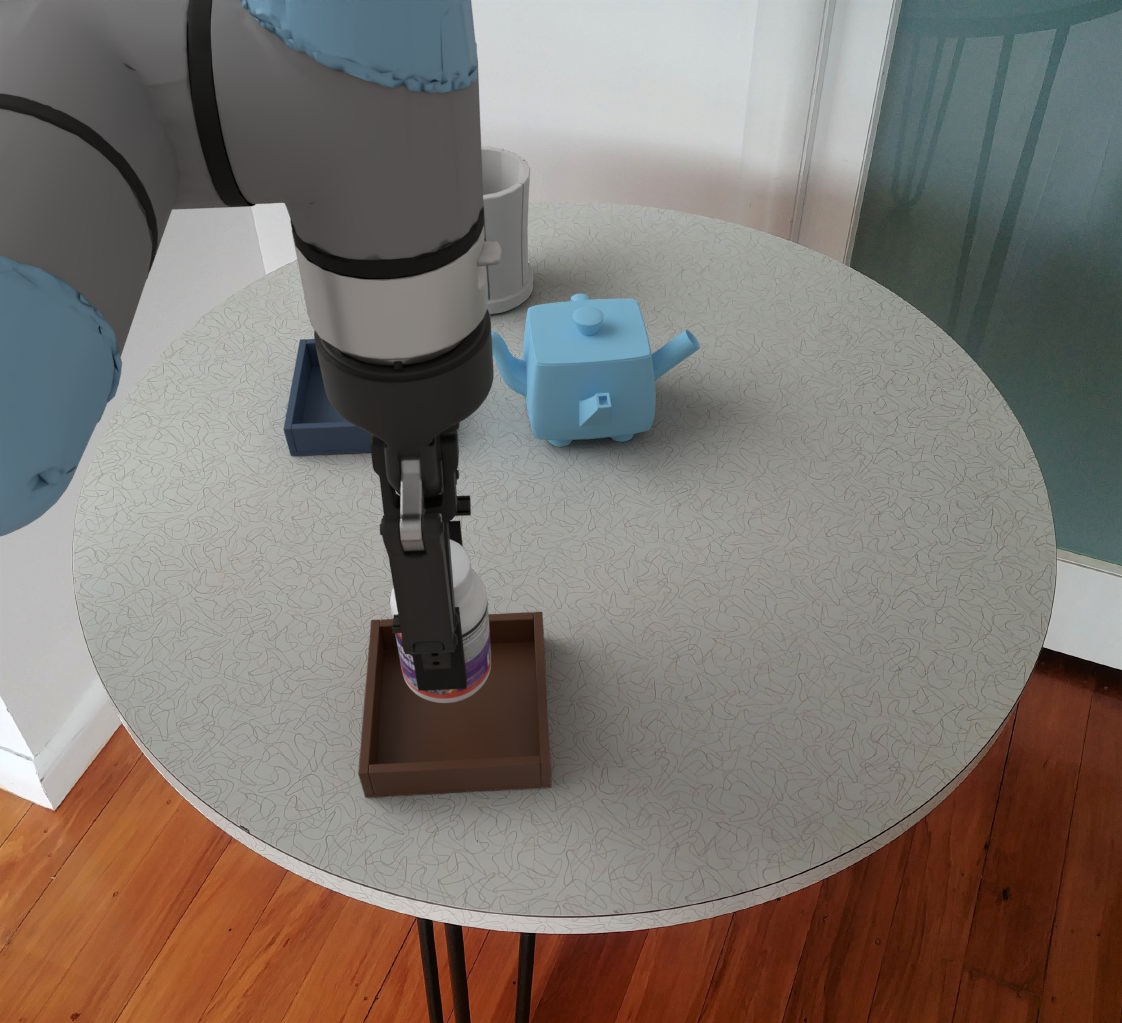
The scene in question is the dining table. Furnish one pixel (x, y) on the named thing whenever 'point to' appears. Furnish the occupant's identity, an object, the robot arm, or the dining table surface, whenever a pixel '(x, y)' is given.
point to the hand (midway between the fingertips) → (443, 639)
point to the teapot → (588, 369)
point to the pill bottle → (474, 631)
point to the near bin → (458, 720)
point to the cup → (506, 227)
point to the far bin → (317, 413)
